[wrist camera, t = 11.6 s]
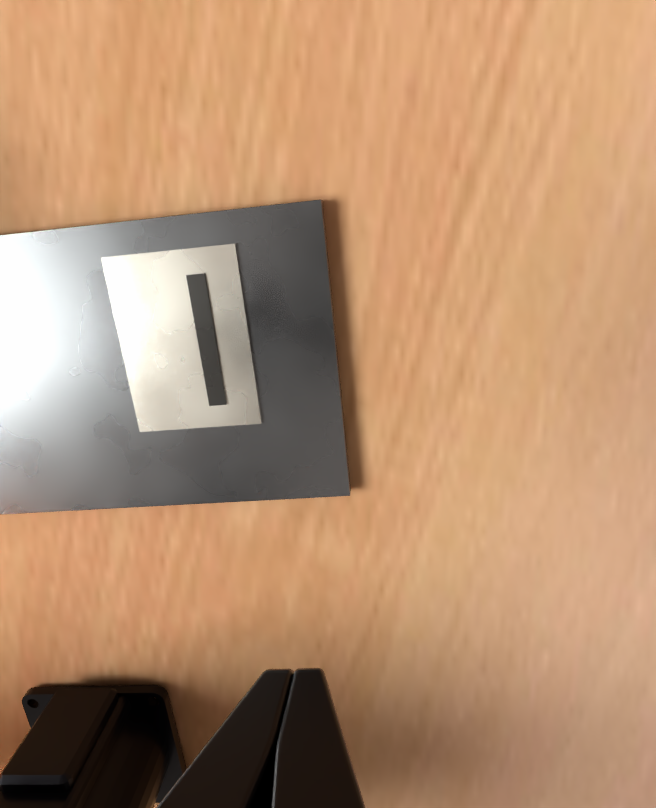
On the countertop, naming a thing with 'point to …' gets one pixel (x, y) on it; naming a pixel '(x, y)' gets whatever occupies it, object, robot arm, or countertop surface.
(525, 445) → the countertop surface
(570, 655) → the countertop surface
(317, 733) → the robot arm
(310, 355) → the plate
